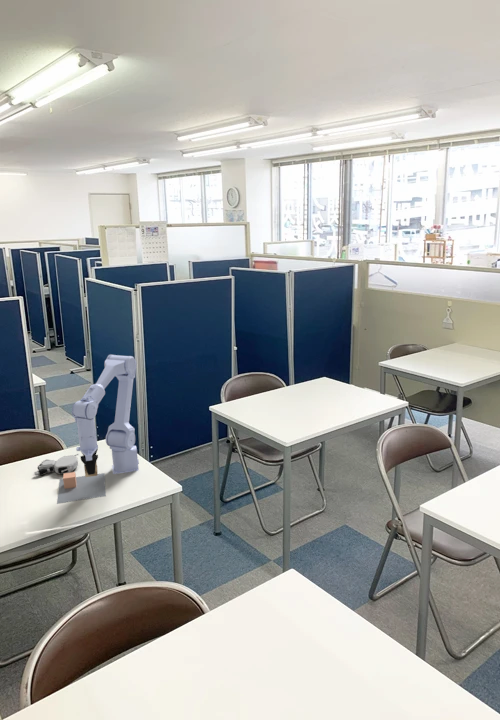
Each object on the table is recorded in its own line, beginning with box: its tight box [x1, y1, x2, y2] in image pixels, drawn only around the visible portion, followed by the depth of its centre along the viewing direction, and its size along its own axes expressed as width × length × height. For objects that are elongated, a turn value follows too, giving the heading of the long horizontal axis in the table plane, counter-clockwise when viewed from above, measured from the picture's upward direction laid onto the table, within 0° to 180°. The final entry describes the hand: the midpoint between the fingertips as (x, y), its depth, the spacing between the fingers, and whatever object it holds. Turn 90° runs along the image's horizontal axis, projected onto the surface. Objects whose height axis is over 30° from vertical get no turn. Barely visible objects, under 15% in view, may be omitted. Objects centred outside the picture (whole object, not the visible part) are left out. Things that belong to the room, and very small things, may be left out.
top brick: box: [83, 461, 99, 477], centre depth 190 cm, size 4×4×4 cm
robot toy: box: [34, 453, 80, 476], centre depth 209 cm, size 12×4×15 cm
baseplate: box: [56, 472, 107, 505], centre depth 195 cm, size 16×18×1 cm
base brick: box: [62, 471, 77, 489], centre depth 196 cm, size 4×4×4 cm
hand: (91, 471), depth 190 cm, fingers closed on top brick, 4 cm apart
